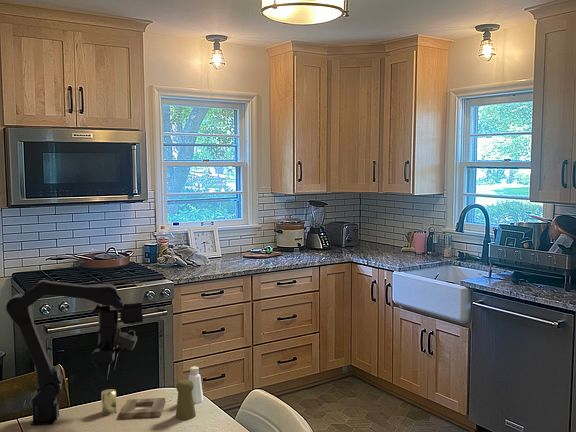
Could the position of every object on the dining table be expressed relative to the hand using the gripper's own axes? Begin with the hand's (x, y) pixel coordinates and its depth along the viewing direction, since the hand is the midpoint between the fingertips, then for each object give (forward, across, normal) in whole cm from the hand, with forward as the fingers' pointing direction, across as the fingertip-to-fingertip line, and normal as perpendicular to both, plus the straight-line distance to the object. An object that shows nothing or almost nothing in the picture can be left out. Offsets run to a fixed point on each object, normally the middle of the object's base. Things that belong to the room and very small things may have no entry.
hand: (109, 375), depth 178 cm
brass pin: (+12, 0, 0) cm, 12 cm away
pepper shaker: (+12, -5, -24) cm, 27 cm away
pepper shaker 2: (+11, +7, -26) cm, 29 cm away
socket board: (+12, +1, -10) cm, 16 cm away
